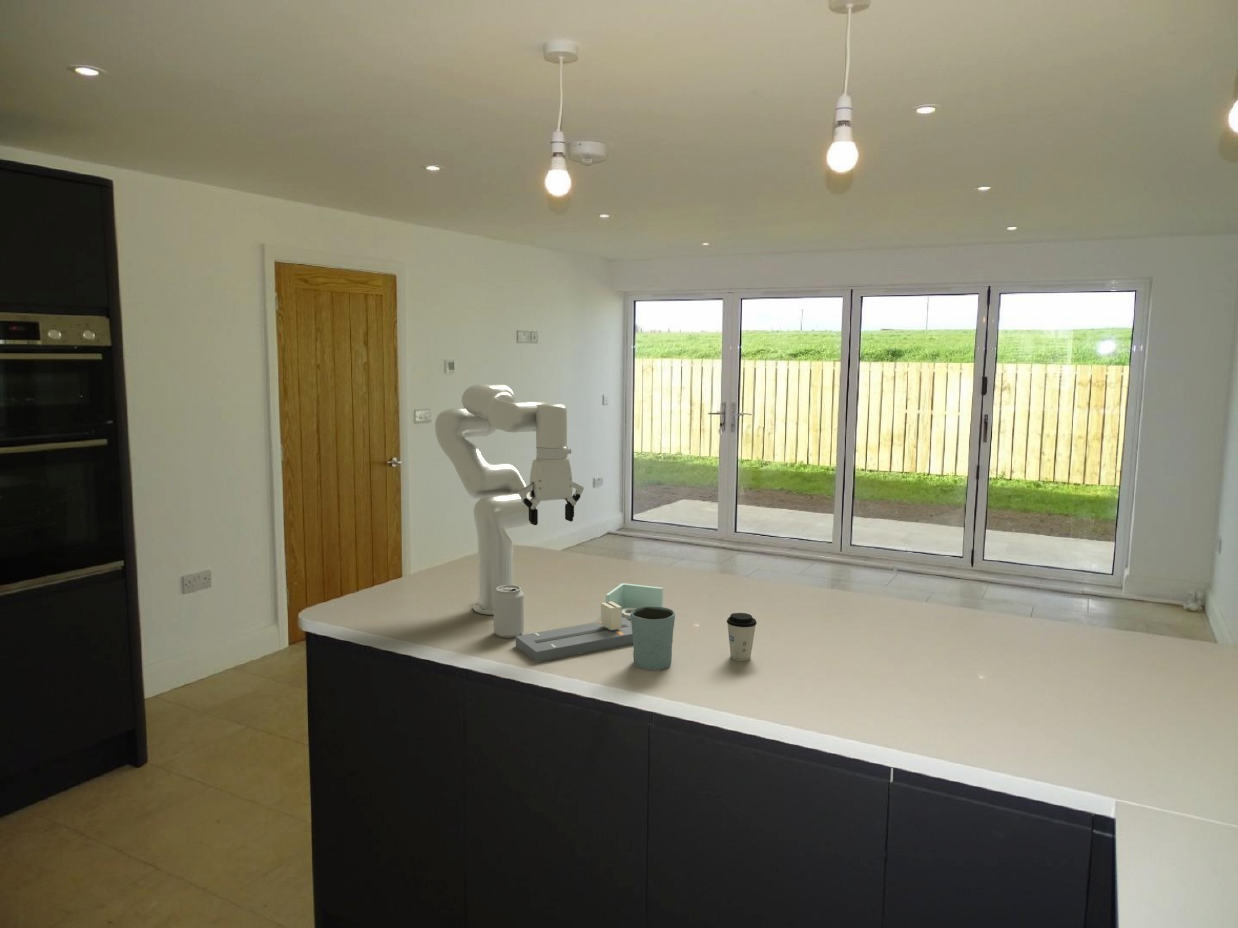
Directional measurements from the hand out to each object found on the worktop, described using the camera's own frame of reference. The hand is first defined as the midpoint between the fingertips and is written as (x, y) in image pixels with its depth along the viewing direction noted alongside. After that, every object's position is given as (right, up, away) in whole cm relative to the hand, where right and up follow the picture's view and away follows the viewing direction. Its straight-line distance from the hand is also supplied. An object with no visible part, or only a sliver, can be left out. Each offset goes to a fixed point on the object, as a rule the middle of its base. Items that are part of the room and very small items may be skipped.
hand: (551, 522), depth 204 cm
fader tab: (+15, -26, -1) cm, 30 cm away
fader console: (+8, -29, -4) cm, 31 cm away
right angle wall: (+21, -27, +17) cm, 39 cm away
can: (-11, -28, +2) cm, 30 cm away
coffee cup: (+45, -31, -13) cm, 56 cm away
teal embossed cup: (+24, -31, -17) cm, 43 cm away
